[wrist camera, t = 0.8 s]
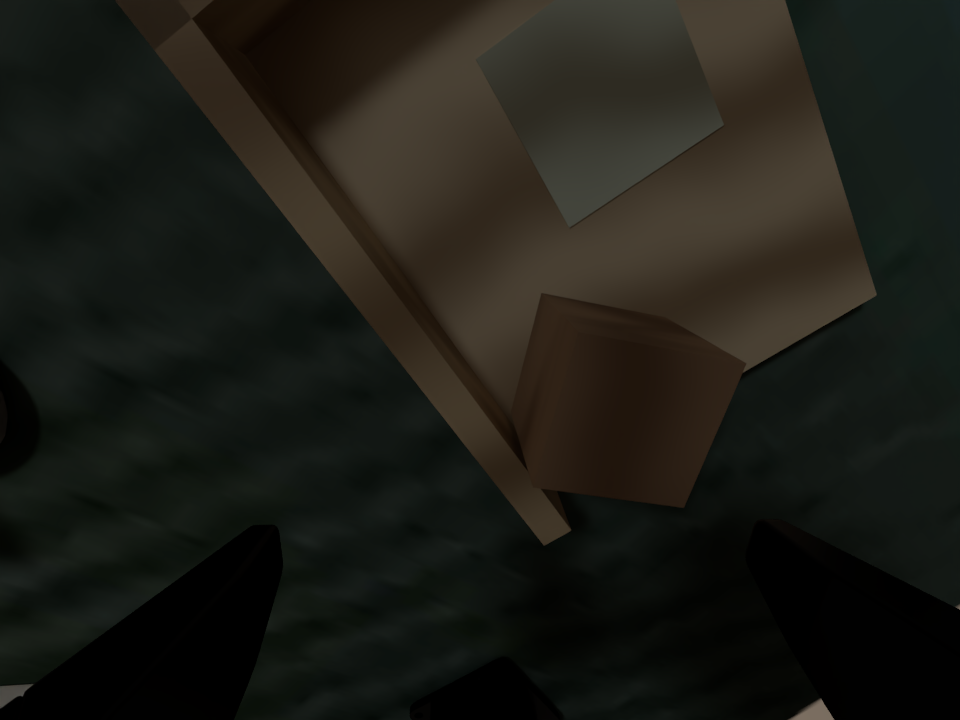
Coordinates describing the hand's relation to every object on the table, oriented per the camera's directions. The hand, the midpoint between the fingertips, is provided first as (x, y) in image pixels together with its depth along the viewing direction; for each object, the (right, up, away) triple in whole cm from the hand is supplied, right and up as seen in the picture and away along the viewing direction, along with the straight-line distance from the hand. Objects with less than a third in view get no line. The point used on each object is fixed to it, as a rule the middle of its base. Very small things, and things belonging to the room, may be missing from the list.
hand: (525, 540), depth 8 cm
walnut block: (+3, +3, +9) cm, 10 cm away
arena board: (+3, +10, +8) cm, 13 cm away
